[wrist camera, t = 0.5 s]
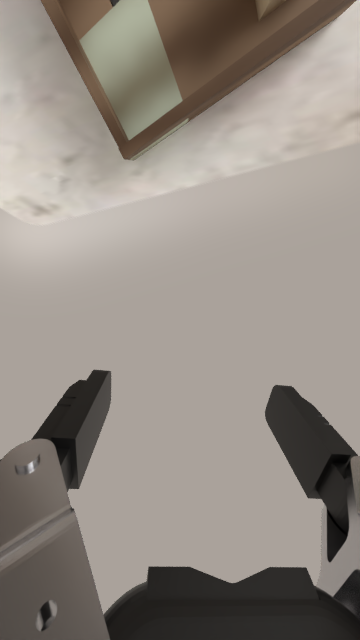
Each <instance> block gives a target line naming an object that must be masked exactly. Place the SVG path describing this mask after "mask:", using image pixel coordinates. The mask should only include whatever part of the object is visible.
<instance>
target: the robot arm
mask: <svg viewBox="0 0 360 640" xmlns="http://www.w3.org/2000/svg"><path fill="white" fill-rule="evenodd" d="M110 401H111V371H103V370H93V371H92V373H91V374H90V376H89V377H88V379H87V381H86V380H79V381H78V382H76V383H75V384H73V385H72V386H70V387H69V389H68V390H67V391H66V392H65V394H64V395H63V397H62V398H61V399H60V401H59V402H58V403H57V406H55V408H54V409H53V410H52V412H51V413H50V415H49V416H48V417H47V419H46V420H45V421H44V423H43V424H42V426H41V427H40V429H39V430H38V431H37V433H36V434H35V435H34V437H33V438H32V439H31V440H29V441H27V442H24V443H22V444H20V445H18V446H16V447H15V448H13V449H12V450H11V451H9V452H8V453H7V454H6V455H5V456H4V458H2V459H1V460H0V640H360V456H358V455H357V454H356V453H355V451H354V450H352V448H351V447H350V446H349V445H348V444H347V442H346V441H345V440H344V439H343V438H342V437H341V436H340V435H339V434H338V433H337V431H336V430H335V429H334V428H333V427H332V426H331V425H329V422H328V421H327V420H326V419H325V418H324V417H322V414H321V413H320V412H319V411H318V410H317V409H316V408H315V407H314V406H313V405H312V404H311V403H309V402H308V401H307V400H305V399H304V398H302V397H301V396H300V395H299V393H298V392H297V391H296V390H295V389H294V388H293V387H291V386H282V385H275V386H274V387H273V389H272V392H271V395H270V398H269V401H268V404H267V407H266V411H265V417H266V421H267V423H268V425H269V427H270V429H271V430H272V432H273V434H274V436H275V438H276V440H277V442H278V444H279V445H280V447H281V449H282V451H283V453H284V455H285V456H286V458H287V460H288V462H289V464H290V466H291V468H292V469H293V471H294V473H295V475H296V477H297V479H298V480H299V482H300V484H301V486H302V488H303V490H304V492H305V493H306V495H307V497H308V498H316V499H322V500H323V502H324V503H325V505H324V507H323V509H322V536H321V541H322V542H321V543H322V544H321V570H320V576H319V579H318V582H317V586H314V585H313V582H312V580H311V578H310V575H309V573H308V571H307V568H297V567H296V568H294V567H292V568H291V567H290V568H289V567H269V568H267V569H265V570H263V571H261V572H259V573H257V574H254V575H252V576H250V577H248V578H246V579H244V580H241V581H239V582H237V583H229V582H226V581H223V580H221V579H218V578H216V577H213V576H211V575H208V574H206V573H203V572H201V571H198V570H196V569H193V568H191V567H149V568H148V575H147V582H144V583H142V584H140V585H138V586H136V587H134V588H132V589H131V590H129V591H128V592H126V593H125V594H124V595H123V596H122V597H120V598H119V599H118V600H117V601H116V602H115V603H114V604H113V605H112V606H111V607H110V608H109V609H108V610H107V611H106V612H105V614H104V615H103V612H102V608H101V604H100V601H99V597H98V593H97V590H96V586H95V582H94V579H93V575H92V571H91V568H90V564H89V560H88V557H87V553H86V549H85V546H84V543H83V538H82V535H81V531H80V527H79V524H78V520H77V517H76V514H75V511H74V509H72V507H71V505H70V501H69V497H68V494H67V492H68V489H79V487H80V484H81V482H82V479H83V476H84V474H85V471H86V469H87V466H88V463H89V460H90V458H91V455H92V453H93V450H94V448H95V445H96V442H97V440H98V437H99V434H100V432H101V429H102V426H103V423H104V421H105V419H106V416H107V413H108V411H109V407H110Z"/></svg>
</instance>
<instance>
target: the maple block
mask: <svg viewBox="0 0 360 640" xmlns="http://www.w3.org/2000/svg"><path fill="white" fill-rule="evenodd" d="M285 1H286V0H255V2H256V8H257V14H258V20H259V21H260V20H262V19H263V18H264V17H266V16H267V15H268V14H269V13H271V12H272V11H273V10H275V9H276V8H277V7H279V6H280V5H281V4H282V3H284V2H285Z"/></svg>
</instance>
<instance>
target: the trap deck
mask: <svg viewBox="0 0 360 640" xmlns="http://www.w3.org/2000/svg"><path fill="white" fill-rule="evenodd" d="M111 1H112V4H113V6H114V7H113V6H112V4H111V2H110V0H41V2H42V4H43V6H44V7H45V9H46V11H47V13H48V15H49V17H50V19H51V21H52V22H53V24H54V26H55V28H56V30H57V32H58V34H59V36H60V38H61V39H62V41H63V43H64V45H65V47H66V49H67V51H68V53H69V54H70V56H71V58H72V60H73V62H74V64H75V66H76V68H77V70H78V71H79V73H80V75H81V77H82V79H83V81H84V83H85V85H86V86H87V88H88V90H89V92H90V94H91V96H92V98H93V100H94V102H95V103H96V105H97V107H98V109H99V111H100V113H101V115H102V117H103V119H104V120H105V122H106V124H107V126H108V128H109V130H110V132H111V134H112V135H113V137H114V139H115V141H116V143H117V145H118V147H119V150H120V152H121V154H122V156H123V158H124V159H128V160H135V159H136V158H138V157H139V156H141V155H142V154H143V153H145V152H146V151H148V150H149V149H150V148H152V147H153V146H155V145H156V144H158V143H159V142H160V141H162V140H163V139H165V138H166V137H168V136H169V135H170V134H172V133H173V132H175V131H176V130H178V129H179V128H180V127H182V126H183V125H185V124H186V123H187V122H189V121H190V120H192V119H193V118H195V117H196V116H197V115H199V114H200V113H202V112H203V111H205V110H206V109H207V108H209V107H210V106H212V105H213V104H215V103H216V102H217V101H219V100H220V99H222V98H223V97H224V96H226V95H227V94H229V93H230V92H232V91H233V90H234V89H236V88H237V87H239V86H240V85H242V84H243V83H244V82H246V81H247V80H249V79H250V78H252V77H253V76H254V75H256V74H257V73H259V72H260V71H261V70H263V69H264V68H266V67H267V66H269V65H270V64H271V63H273V62H274V61H276V60H277V59H279V58H280V57H281V56H283V55H284V54H286V53H287V52H289V51H290V50H291V49H293V48H294V47H296V46H297V45H298V44H300V43H301V42H303V41H304V40H306V39H307V38H308V37H310V36H311V35H313V34H314V33H316V32H317V31H318V30H320V29H321V28H323V27H324V26H326V25H327V24H328V23H330V22H331V21H333V20H334V19H335V18H337V17H338V16H340V15H341V14H342V13H343V12H344V11H345V10H347V9H348V8H349V7H350V6H351V5H352V4H353V3H354V2H355V1H356V0H286V1H285V2H284V3H282V4H281V5H280V6H279V7H277V8H276V9H275V10H273V11H272V12H271V13H269V14H268V15H267V16H266V17H264V18H263V19H262V20H260V21H259V20H258V14H257V8H256V2H255V0H111Z"/></svg>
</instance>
